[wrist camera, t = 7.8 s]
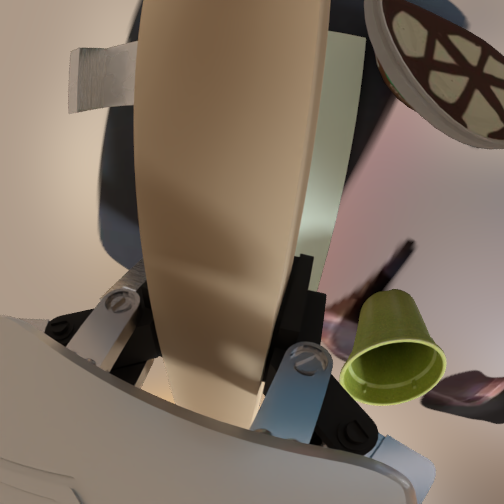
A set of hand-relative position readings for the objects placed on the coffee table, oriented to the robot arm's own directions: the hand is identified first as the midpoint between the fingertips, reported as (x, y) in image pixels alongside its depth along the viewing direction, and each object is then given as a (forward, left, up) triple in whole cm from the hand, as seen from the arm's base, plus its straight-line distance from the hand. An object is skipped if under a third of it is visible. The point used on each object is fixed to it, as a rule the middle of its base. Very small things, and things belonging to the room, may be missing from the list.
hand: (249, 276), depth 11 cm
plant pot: (-12, +11, -14) cm, 21 cm away
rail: (0, 0, +1) cm, 1 cm away
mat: (0, 0, -14) cm, 14 cm away
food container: (-9, -10, -14) cm, 19 cm away
